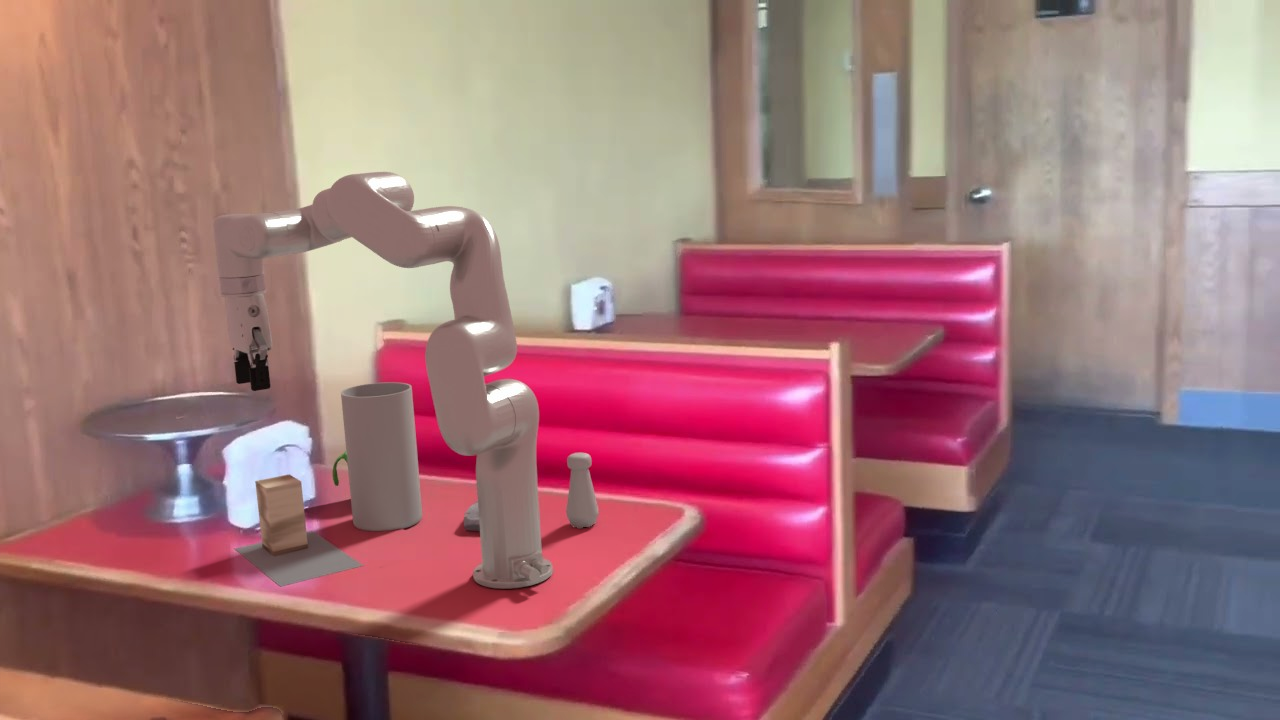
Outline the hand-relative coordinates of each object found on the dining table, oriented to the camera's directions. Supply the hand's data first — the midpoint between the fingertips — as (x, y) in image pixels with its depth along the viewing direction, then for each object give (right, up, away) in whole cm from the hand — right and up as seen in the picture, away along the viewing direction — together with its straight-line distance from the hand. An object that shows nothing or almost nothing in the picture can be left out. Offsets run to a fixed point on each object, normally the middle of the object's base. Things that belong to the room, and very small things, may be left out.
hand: (253, 385), depth 216 cm
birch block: (+6, -28, -2) cm, 29 cm away
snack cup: (+16, -23, +25) cm, 38 cm away
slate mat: (+10, -29, -7) cm, 32 cm away
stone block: (+42, -26, +7) cm, 50 cm away
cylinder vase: (+21, -26, +11) cm, 35 cm away
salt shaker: (+58, -25, +4) cm, 63 cm away
